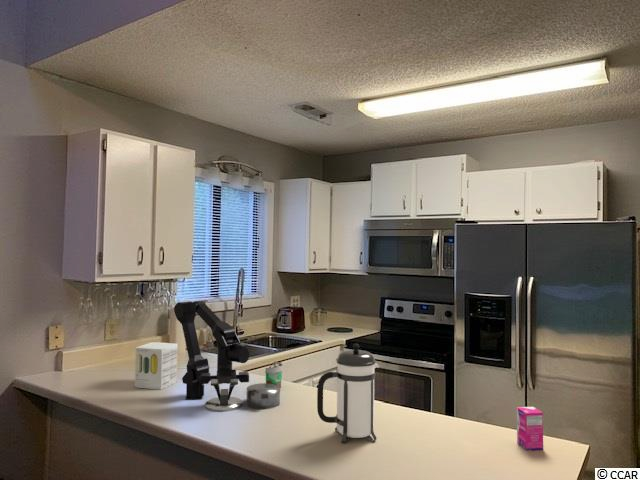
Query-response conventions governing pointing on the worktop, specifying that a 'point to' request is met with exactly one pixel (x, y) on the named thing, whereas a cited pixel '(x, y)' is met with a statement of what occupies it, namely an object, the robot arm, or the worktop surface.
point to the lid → (223, 402)
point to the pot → (263, 396)
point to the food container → (274, 374)
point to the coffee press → (352, 394)
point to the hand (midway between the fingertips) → (224, 400)
